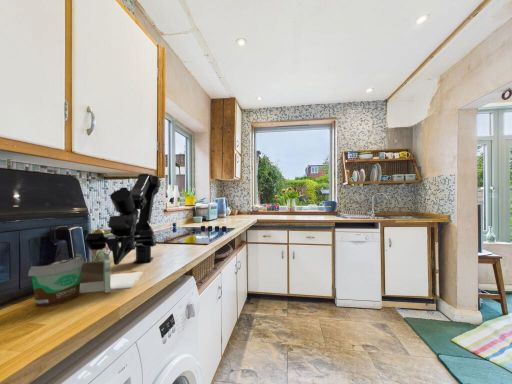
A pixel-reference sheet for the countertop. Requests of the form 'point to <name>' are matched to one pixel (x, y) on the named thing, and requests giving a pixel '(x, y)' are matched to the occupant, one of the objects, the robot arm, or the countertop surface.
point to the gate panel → (106, 272)
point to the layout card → (112, 282)
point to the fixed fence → (92, 272)
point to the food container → (57, 281)
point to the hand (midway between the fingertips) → (115, 264)
